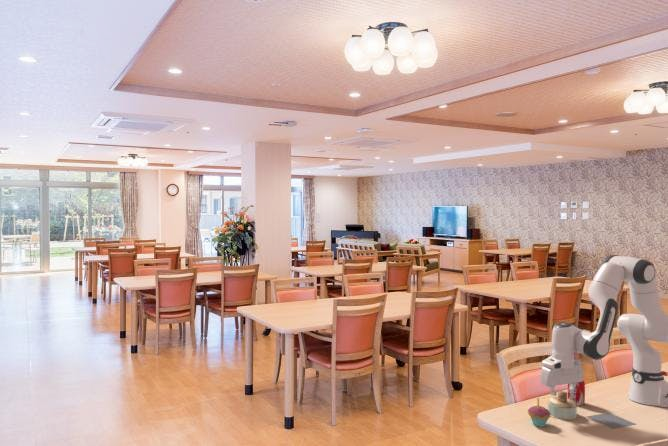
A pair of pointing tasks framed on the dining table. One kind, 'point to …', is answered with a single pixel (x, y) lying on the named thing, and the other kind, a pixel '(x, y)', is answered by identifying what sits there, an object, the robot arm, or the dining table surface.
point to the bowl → (562, 412)
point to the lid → (562, 400)
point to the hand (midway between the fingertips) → (562, 393)
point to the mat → (611, 420)
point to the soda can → (578, 393)
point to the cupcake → (539, 415)
